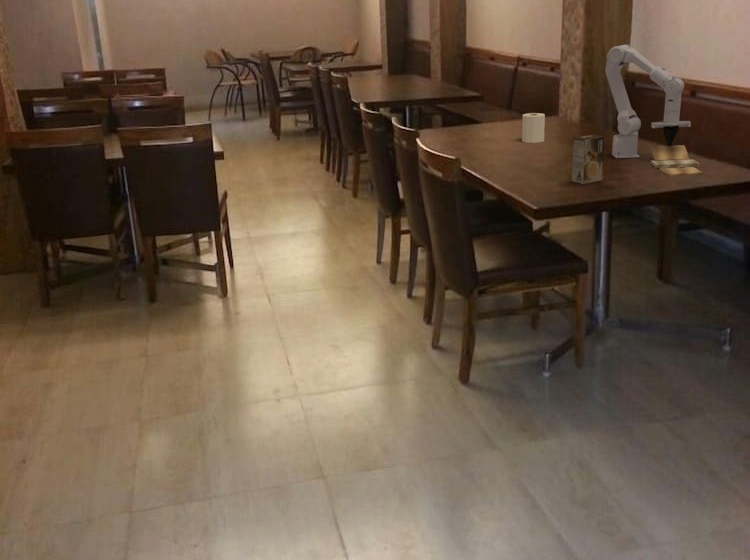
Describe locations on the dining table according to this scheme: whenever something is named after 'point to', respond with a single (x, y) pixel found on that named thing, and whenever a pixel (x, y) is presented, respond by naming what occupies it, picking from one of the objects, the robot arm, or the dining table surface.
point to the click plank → (669, 152)
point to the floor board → (675, 163)
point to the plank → (680, 171)
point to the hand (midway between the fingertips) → (669, 145)
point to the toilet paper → (533, 127)
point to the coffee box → (587, 159)
